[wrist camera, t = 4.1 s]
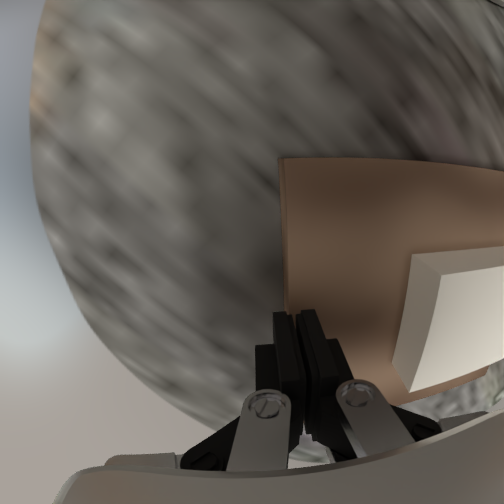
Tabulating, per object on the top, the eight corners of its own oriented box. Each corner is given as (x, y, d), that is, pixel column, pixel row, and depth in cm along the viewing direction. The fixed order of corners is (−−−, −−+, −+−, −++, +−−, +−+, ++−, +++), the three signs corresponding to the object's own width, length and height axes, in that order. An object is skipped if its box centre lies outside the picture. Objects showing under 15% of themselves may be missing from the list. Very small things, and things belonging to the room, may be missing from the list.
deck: (278, 158, 12) (284, 158, 10) (505, 172, 12) (532, 177, 10) (284, 395, 17) (287, 424, 14) (469, 356, 16) (485, 375, 14)
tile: (411, 254, 11) (441, 275, 9) (522, 244, 11) (548, 257, 9) (391, 362, 13) (408, 392, 11) (499, 331, 13) (519, 350, 10)
